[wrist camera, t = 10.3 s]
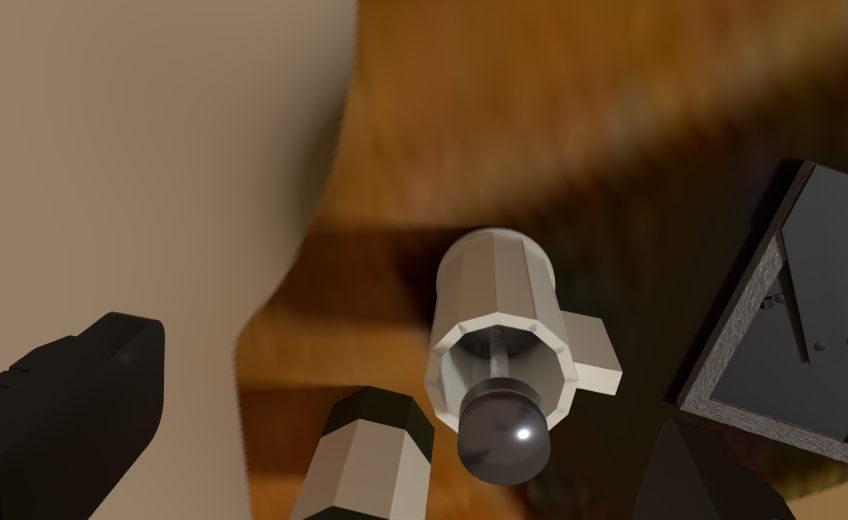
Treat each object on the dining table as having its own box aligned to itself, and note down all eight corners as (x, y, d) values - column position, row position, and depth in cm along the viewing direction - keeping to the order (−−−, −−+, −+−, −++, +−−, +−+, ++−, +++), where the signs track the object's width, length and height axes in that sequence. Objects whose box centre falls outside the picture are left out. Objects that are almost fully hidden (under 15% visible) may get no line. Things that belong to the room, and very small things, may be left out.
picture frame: (800, 158, 40) (673, 396, 46) (816, 164, 38) (681, 412, 44) (1002, 225, 40) (848, 453, 47) (1027, 235, 38) (863, 471, 45)
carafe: (603, 247, 42) (652, 337, 30) (571, 351, 45) (605, 473, 33) (449, 215, 42) (436, 293, 30) (427, 321, 45) (407, 432, 33)
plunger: (550, 285, 38) (583, 407, 26) (529, 362, 40) (549, 509, 28) (462, 266, 38) (454, 380, 26) (445, 345, 40) (429, 484, 28)
